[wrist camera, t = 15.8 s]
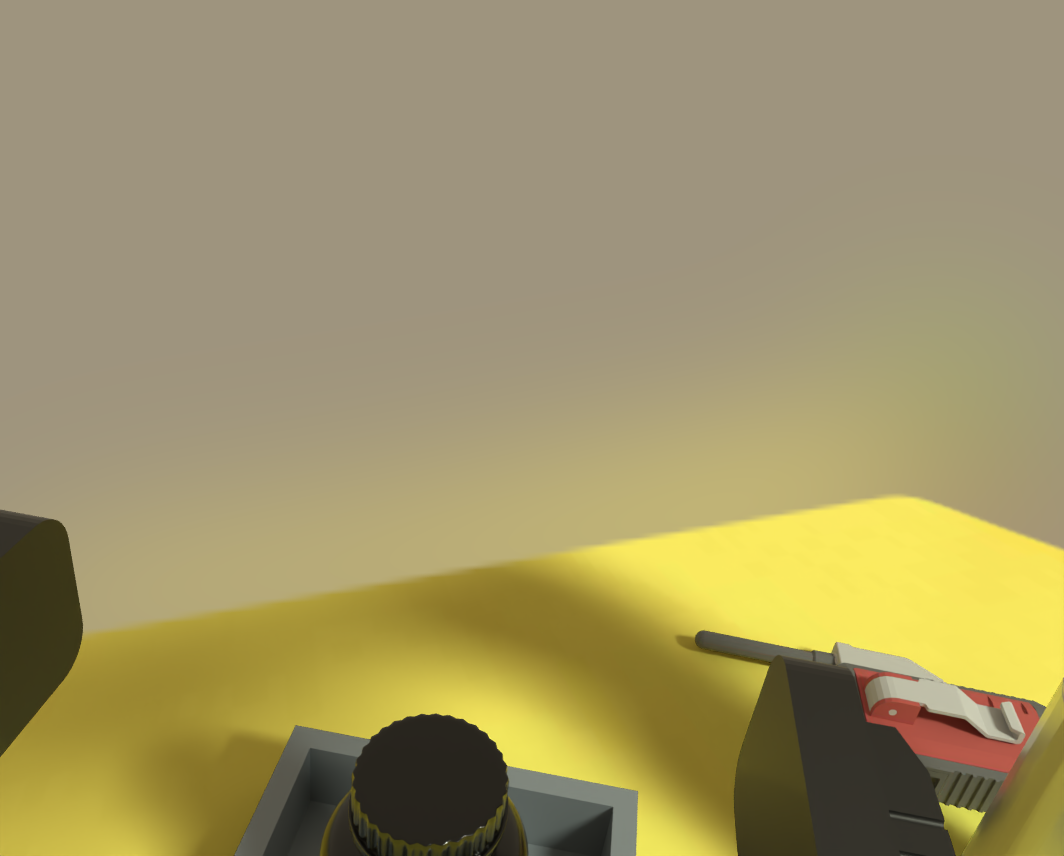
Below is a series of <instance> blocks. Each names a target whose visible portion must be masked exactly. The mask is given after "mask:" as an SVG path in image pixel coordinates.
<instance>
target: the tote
mask: <svg viewBox="0 0 1064 856" xmlns="http://www.w3.org/2000/svg"><path fill="white" fill-rule="evenodd" d="M369 742H370V739H364V738H359V737H354V736H349V735H344V734H338V733H333V732H328V731H323V730H318V729H313V728H307V727H302V726H297V725H296V726H295V728H294V730H293V732H292V734H291V736H290V739H289V741H288V743H287V745H286V747H285V749H284V751H283V753H282V755H281V758H280V760H279V762H278V764H277V766H276V768H275V770H274V772H273V774H272V777H271V779H270V781H269V783H268V785H267V787H266V789H265V791H264V793H263V796H262V798H261V800H260V802H259V804H258V806H257V808H256V810H255V813H254V815H253V817H252V819H251V821H250V823H249V825H248V827H247V829H246V832H245V834H244V836H243V838H242V840H241V842H240V844H239V846H238V848H237V851H236V853H235V855H234V856H319V852H320V844H321V840H322V836H323V833H324V830H325V827H326V825H327V822H328V820H329V818H330V816H331V814H332V812H333V811H334V809H335V807H336V806H337V805H338V803H339V802H340V800H341V799H342V798H343V797H344V796H345V794H346V793H347V792H348V791H349V790H350V789H351V776H352V772H353V770H354V769H355V762H356V759H357V758H358V757H359V756H360V755H361V752H362V749H363V747H364V746H365V745H367V744H368V743H369ZM507 768H508V770H507V775H508V778H509V788H508V796H509V798H510V799H511V801H512V802H513V804H514V805H515V807H516V809H517V811H518V812H519V814H520V817H521V819H522V822H523V825H524V828H525V831H526V836H527V841H528V851H529V853H528V856H636V836H637V803H638V791H634V790H629V789H624V788H618V787H613V786H608V785H603V784H598V783H592V782H587V781H582V780H577V779H572V778H567V777H561V776H556V775H551V774H546V773H541V772H535V771H530V770H525V769H520V768H515V767H510V766H507Z"/></svg>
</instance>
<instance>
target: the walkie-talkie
mask: <svg viewBox="0 0 1064 856" xmlns="http://www.w3.org/2000/svg"><path fill="white" fill-rule="evenodd" d="M695 642H696V644H697V646H698V647H700V648H703V649H707V650H712V651H717V652H722V653H727V654H732V655H737V656H742V657H747V658H752V659H757V660H761V661H766V662H772V660H773V659H774V657H775V656H777V655H783V656H788V657H794V658H799V659H805V660H810V661H815V662H821V663H826V664H832V665H837V666H843V667H847V668H849V670H850V671H851V672H852V674H853V676H854V679H855V683H856V687H857V690H858V694H859V698H860V702H861V706H862V710H863V714H864V717H865V721H866V722H870V723H876V724H881V725H886V726H892V727H896V729H897V730H898V731H899V733H900V734H901V735H902V737H903V738H904V739H905V741H906V742H907V743H908V745H909V746H910V747H911V749H912V750H913V751H914V753H915V754H916V755H917V757H918V758H919V759H920V761H921V762H922V763H923V765H924V766H925V767H926V769H927V770H928V771H929V774H930V777H931V780H932V783H933V786H934V789H935V792H936V796H937V799H938V802H941V803H945V805H948V806H949V805H950V804H951V805H955V806H956V807H958V808H960V807H965V808H967V809H968V810H972V809H974V810H978V811H979V812H981V813H982V812H983V811H984V812H986V811H987V810H988V808H989V806H990V805H991V803H992V801H993V799H994V798H995V796H996V794H997V792H998V791H999V789H1000V787H1001V785H1002V784H1003V782H1004V780H1005V779H1006V777H1007V775H1008V773H1009V772H1010V770H1011V768H1012V766H1013V765H1014V763H1015V761H1016V759H1017V758H1018V756H1019V754H1020V753H1021V751H1022V749H1023V747H1024V746H1025V744H1026V742H1027V740H1028V739H1029V737H1030V735H1031V733H1032V732H1033V730H1034V728H1035V727H1036V725H1037V723H1038V721H1039V720H1040V718H1041V716H1042V714H1043V713H1044V711H1045V709H1046V707H1045V706H1043V705H1041V704H1039V703H1037V702H1035V701H1030V700H1026V699H1020V698H1016V697H1013V696H1011V697H1010V696H1006V695H1003V694H1001V695H1000V694H995V693H993V692H991V693H990V692H985V691H983V690H981V691H980V690H976V689H973V688H966V687H963V686H956V685H953V684H947V683H946V682H943V680H942V679H940V678H939V677H937V676H935V675H934V674H932V673H931V672H929V671H927V670H926V669H924V668H922V667H921V666H919V665H918V664H916V663H914V662H913V661H911V660H909V659H907V658H904V657H899V656H894V655H889V654H884V653H879V652H874V651H869V650H864V649H859V648H855V647H852V646H850V645H849V644H844V643H839V642H836V643H835V645H834V647H833V650H832V653H826V652H821V651H815V650H813V651H812V652H809V651H804V650H799V649H794V648H789V647H784V646H779V645H774V644H769V643H764V642H759V641H754V640H749V639H744V638H739V637H734V636H729V635H724V634H719V633H714V632H709V631H704V630H703V631H700V632H698V633H697V635H696V637H695Z"/></svg>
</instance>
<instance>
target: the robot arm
mask: <svg viewBox="0 0 1064 856" xmlns="http://www.w3.org/2000/svg"><path fill="white" fill-rule="evenodd" d="M82 633H83V623H82V615H81V609H80V603H79V597H78V591H77V586H76V580H75V574H74V568H73V563H72V556H71V551H70V544H69V539H68V535H67V531H66V529H65V527H64V526H63V525H62V523H60V522H59V521H57V520H54V519H48V518H43V517H37V516H32V515H26V514H20V513H16V512H10V511H5V510H0V757H1V755H2V754H3V753H4V752H5V751H6V749H7V748H8V747H9V746H10V744H11V743H12V742H13V741H14V740H15V738H16V737H17V736H18V735H19V733H20V732H21V731H22V730H23V729H24V727H25V726H26V725H27V724H28V723H29V721H30V720H31V719H32V718H33V716H34V715H35V714H36V713H37V712H38V710H39V709H40V708H41V707H42V705H43V704H44V703H45V702H46V701H47V699H48V698H49V697H50V696H51V695H52V693H53V692H54V691H55V690H56V688H57V687H58V686H59V685H60V684H61V682H62V681H63V680H64V679H65V677H66V676H67V674H68V673H69V671H70V670H71V668H72V666H73V664H74V662H75V659H76V657H77V655H78V652H79V648H80V645H81V640H82ZM734 814H735V826H736V839H737V851H738V856H956V855H955V852H954V849H953V845H952V842H951V839H950V836H949V833H948V830H944V817H943V814H942V811H941V808H940V805H939V802H938V799H937V796H936V792H935V789H934V786H933V783H932V780H931V777H930V774H929V771H928V770H927V769H926V767H925V766H924V765H923V763H922V762H921V761H920V759H919V758H918V757H917V755H916V754H915V753H914V751H913V750H912V749H911V747H910V746H909V745H908V743H907V742H906V741H905V739H904V738H903V737H902V735H901V734H900V733H899V731H898V730H897V729H896V727H892V726H886V725H881V724H876V723H870V722H866V721H865V717H864V714H863V710H862V706H861V702H860V698H859V694H858V690H857V687H856V683H855V679H854V676H853V674H852V672H851V671H850V670H849V668H847V667H843V666H837V665H832V664H826V663H821V662H815V661H810V660H805V659H799V658H794V657H788V656H783V655H777V656H775V657H774V659H773V660H772V662H771V664H770V667H769V669H768V672H767V675H766V678H765V681H764V684H763V687H762V689H761V692H760V695H759V698H758V701H757V704H756V707H755V710H754V713H753V716H752V718H751V721H750V724H749V727H748V730H747V733H746V736H745V739H744V742H743V745H742V748H741V751H740V755H739V759H738V764H737V770H736V777H735V788H734ZM961 856H1064V678H1063V680H1062V682H1061V683H1060V685H1059V687H1058V688H1057V690H1056V692H1055V694H1054V695H1053V697H1052V699H1051V701H1050V702H1049V704H1048V706H1047V707H1046V709H1045V711H1044V713H1043V714H1042V716H1041V718H1040V720H1039V721H1038V723H1037V725H1036V727H1035V728H1034V730H1033V732H1032V733H1031V735H1030V737H1029V739H1028V740H1027V742H1026V744H1025V746H1024V747H1023V749H1022V751H1021V753H1020V754H1019V756H1018V758H1017V759H1016V761H1015V763H1014V765H1013V766H1012V768H1011V770H1010V772H1009V773H1008V775H1007V777H1006V779H1005V780H1004V782H1003V784H1002V785H1001V787H1000V789H999V791H998V792H997V794H996V796H995V798H994V799H993V801H992V803H991V805H990V806H989V808H988V810H987V811H986V813H985V815H984V817H983V818H982V820H981V822H980V824H979V825H978V827H977V829H976V831H975V832H974V834H973V836H972V837H971V839H970V841H969V843H968V844H967V846H966V848H965V849H964V851H963V853H962V855H961Z"/></svg>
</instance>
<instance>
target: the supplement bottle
mask: <svg viewBox="0 0 1064 856" xmlns="http://www.w3.org/2000/svg"><path fill="white" fill-rule="evenodd" d="M507 770H508V768H507V765H506V763H505V762H504V761H503V754H502V753H501V752H500V751H499V750H498V749H497V746H496V743H495V742H494V741H492V740H491V739H489V737H488V735H487V733H485V732H483V731H481V730H479V729H478V727H477V726H476V725H473V724H469V723H467V722H466V721H465V720H464V719H456V718H454V717H452V716H450V715H445V716H442V715H439V714H431V715H425V714H420V715H418V716H415V717H412V716H409V717H406V718H404V719H403V720H399V721H394V722H393V723H392V724H391V725H390V726H388V727H384V728H382V729H381V730H380V732H379V733H378V734H376V735H374V736H372V737H371V739H370V742H369V743H368V744H367V745H365V746H364V747H363V749H362V752H361V755H360V756H359V757H358V758H357V759H356V762H355V769H354V770H353V772H352V776H351V789H350V790H349V791H348V792H347V793H346V794H345V796H344V797H343V798H342V799H341V800H340V802H339V803H338V805H337V806H336V807H335V809H334V811H333V812H332V814H331V816H330V818H329V820H328V822H327V825H326V827H325V830H324V833H323V836H322V840H321V844H320V852H319V856H528V853H529V851H528V841H527V836H526V831H525V828H524V825H523V822H522V819H521V817H520V814H519V812H518V811H517V809H516V807H515V805H514V804H513V802H512V801H511V799H510V798H509V796H508V788H509V778H508V775H507Z"/></svg>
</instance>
